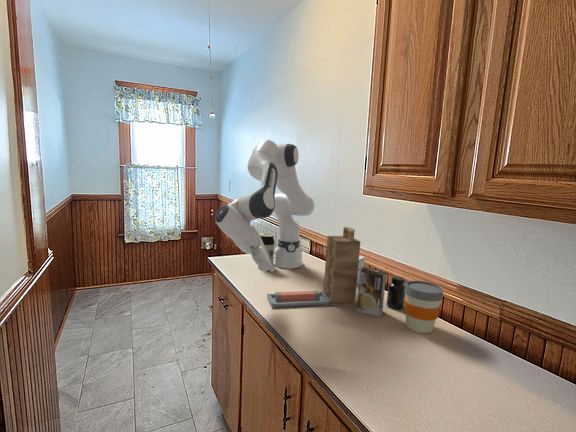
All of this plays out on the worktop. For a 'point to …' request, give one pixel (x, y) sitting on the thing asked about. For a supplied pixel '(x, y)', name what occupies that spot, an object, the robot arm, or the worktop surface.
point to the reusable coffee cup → (422, 305)
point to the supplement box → (360, 266)
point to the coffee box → (371, 291)
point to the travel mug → (268, 244)
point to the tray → (323, 301)
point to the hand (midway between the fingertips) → (270, 262)
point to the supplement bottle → (396, 293)
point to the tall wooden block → (341, 267)
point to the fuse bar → (297, 296)
